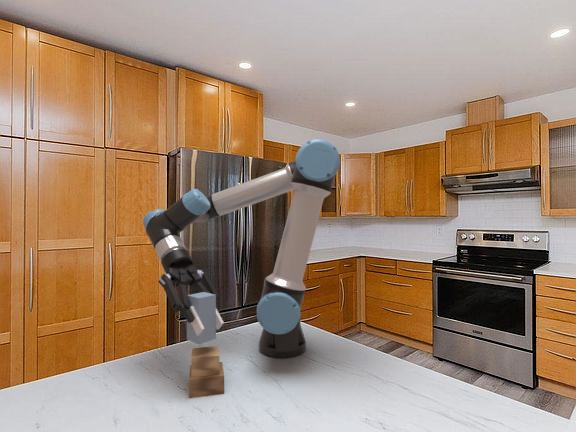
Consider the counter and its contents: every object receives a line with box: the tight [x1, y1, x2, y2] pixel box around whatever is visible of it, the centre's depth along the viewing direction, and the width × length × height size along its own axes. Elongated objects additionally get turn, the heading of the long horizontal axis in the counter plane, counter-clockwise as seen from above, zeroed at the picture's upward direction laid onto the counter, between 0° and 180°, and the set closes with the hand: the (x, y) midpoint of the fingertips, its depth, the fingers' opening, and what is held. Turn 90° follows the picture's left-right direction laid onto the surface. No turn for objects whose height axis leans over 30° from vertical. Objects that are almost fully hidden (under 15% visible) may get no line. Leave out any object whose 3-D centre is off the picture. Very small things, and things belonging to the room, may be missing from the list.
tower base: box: [188, 361, 225, 399], centre depth 83 cm, size 8×8×4 cm
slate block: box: [186, 292, 217, 345], centre depth 84 cm, size 5×5×11 cm
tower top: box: [190, 345, 220, 377], centre depth 83 cm, size 6×6×4 cm
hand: (210, 329), depth 81 cm, fingers closed on slate block, 5 cm apart
